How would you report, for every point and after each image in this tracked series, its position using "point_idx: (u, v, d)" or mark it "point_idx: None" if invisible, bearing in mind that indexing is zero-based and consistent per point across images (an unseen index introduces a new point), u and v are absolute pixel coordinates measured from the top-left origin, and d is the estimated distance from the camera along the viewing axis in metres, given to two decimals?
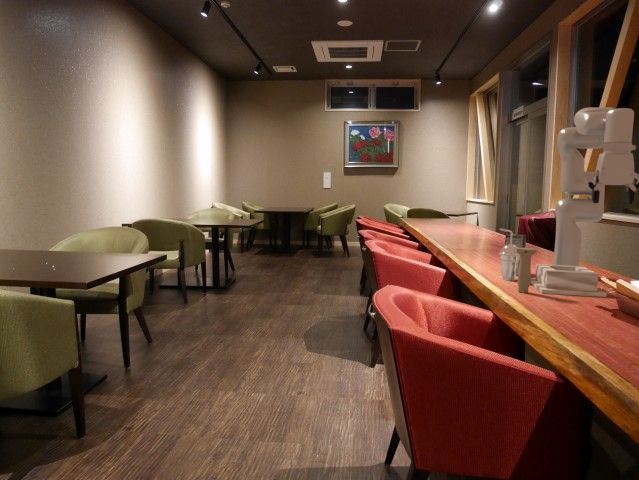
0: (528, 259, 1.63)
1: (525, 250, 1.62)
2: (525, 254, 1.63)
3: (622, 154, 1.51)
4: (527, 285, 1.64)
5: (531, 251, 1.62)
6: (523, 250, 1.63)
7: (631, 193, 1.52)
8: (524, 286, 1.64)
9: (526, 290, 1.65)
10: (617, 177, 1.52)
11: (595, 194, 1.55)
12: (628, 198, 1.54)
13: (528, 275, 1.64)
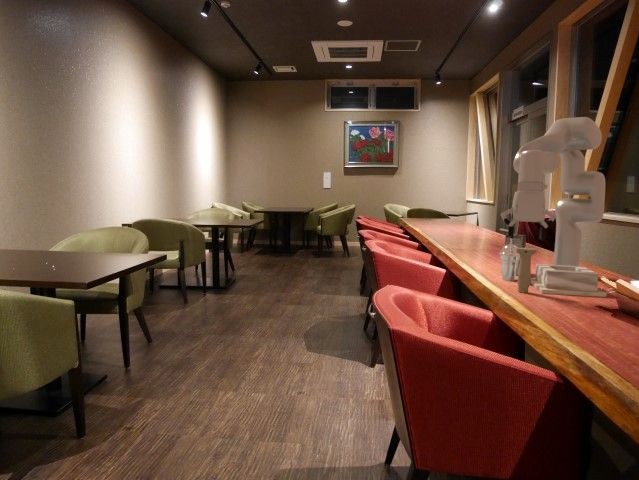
0: (528, 259, 1.63)
1: (525, 250, 1.62)
2: (525, 254, 1.63)
3: (534, 193, 1.60)
4: (527, 285, 1.64)
5: (531, 251, 1.62)
6: (523, 250, 1.63)
7: (543, 230, 1.61)
8: (524, 286, 1.64)
9: (526, 290, 1.65)
10: (529, 214, 1.61)
11: (510, 230, 1.64)
12: (541, 234, 1.62)
13: (528, 275, 1.64)
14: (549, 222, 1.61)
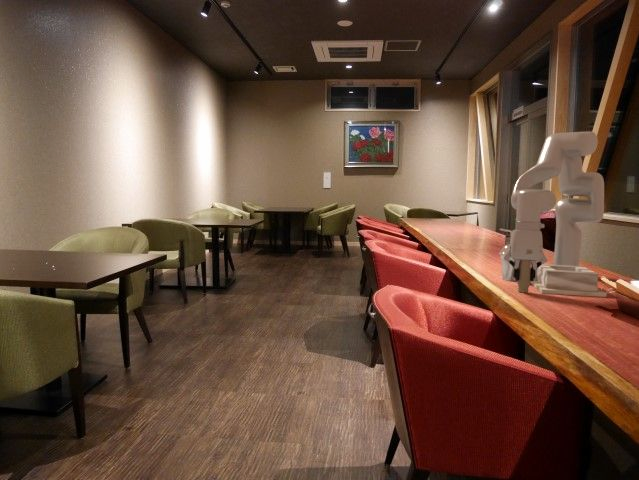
0: None
1: None
2: None
3: (531, 232, 1.61)
4: (527, 285, 1.64)
5: (531, 251, 1.62)
6: None
7: (532, 271, 1.63)
8: (524, 286, 1.64)
9: (526, 290, 1.65)
10: None
11: (515, 272, 1.65)
12: None
13: (528, 275, 1.64)
14: (538, 264, 1.63)
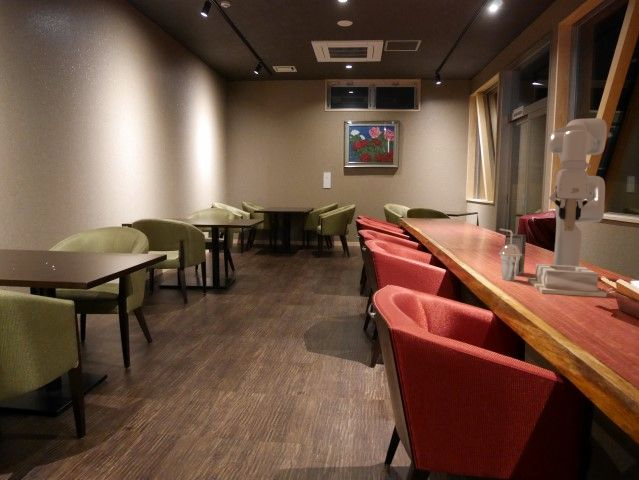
0: None
1: None
2: None
3: (577, 171, 1.66)
4: (573, 223, 1.69)
5: (577, 190, 1.67)
6: None
7: (578, 210, 1.69)
8: (570, 224, 1.70)
9: (572, 228, 1.70)
10: None
11: (561, 211, 1.70)
12: None
13: (574, 213, 1.69)
14: (584, 202, 1.69)
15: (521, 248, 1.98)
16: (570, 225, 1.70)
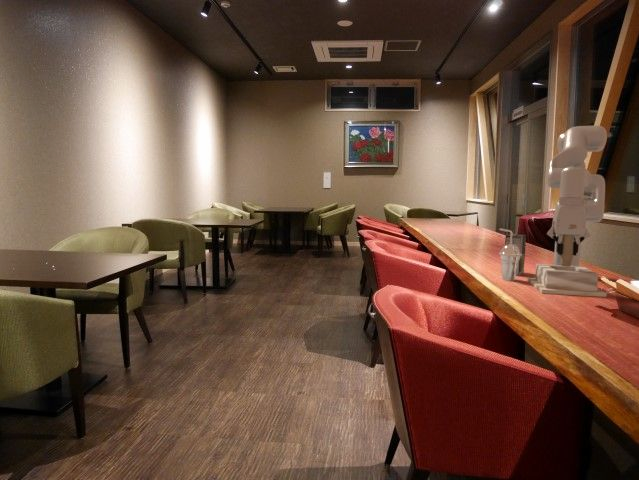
0: None
1: (569, 225, 1.69)
2: None
3: (575, 208, 1.68)
4: (570, 259, 1.71)
5: (575, 226, 1.68)
6: None
7: (575, 246, 1.70)
8: (567, 260, 1.71)
9: (569, 264, 1.71)
10: None
11: (559, 246, 1.72)
12: (573, 250, 1.71)
13: (571, 249, 1.70)
14: (581, 238, 1.70)
15: (521, 248, 1.98)
16: (568, 261, 1.71)
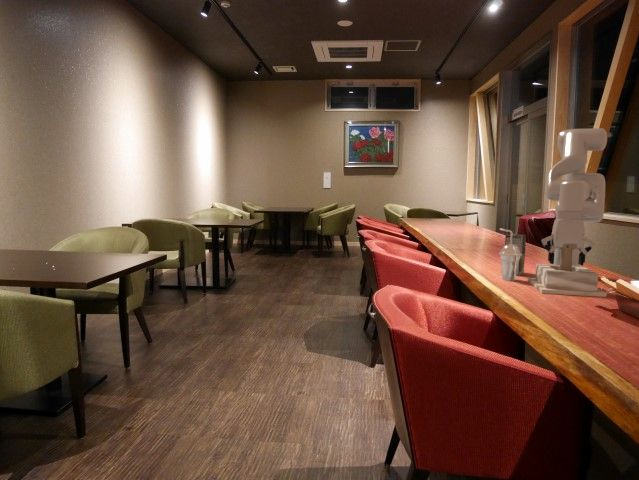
0: (570, 253, 1.71)
1: (567, 245, 1.70)
2: (567, 249, 1.70)
3: (574, 221, 1.68)
4: None
5: (573, 246, 1.69)
6: (565, 245, 1.70)
7: (582, 256, 1.70)
8: None
9: None
10: (570, 241, 1.70)
11: (550, 256, 1.73)
12: (580, 260, 1.71)
13: (570, 269, 1.71)
14: (588, 248, 1.70)
15: (521, 248, 1.98)
16: None
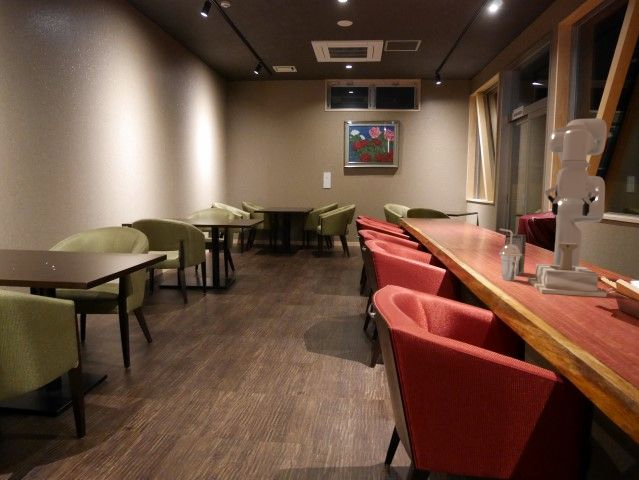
0: (570, 253, 1.71)
1: (567, 244, 1.70)
2: (567, 248, 1.71)
3: (578, 171, 1.66)
4: None
5: (573, 245, 1.70)
6: (565, 244, 1.70)
7: (586, 206, 1.68)
8: None
9: None
10: (573, 191, 1.68)
11: (554, 207, 1.71)
12: (584, 210, 1.69)
13: (570, 268, 1.71)
14: (592, 198, 1.68)
15: (521, 248, 1.98)
16: None
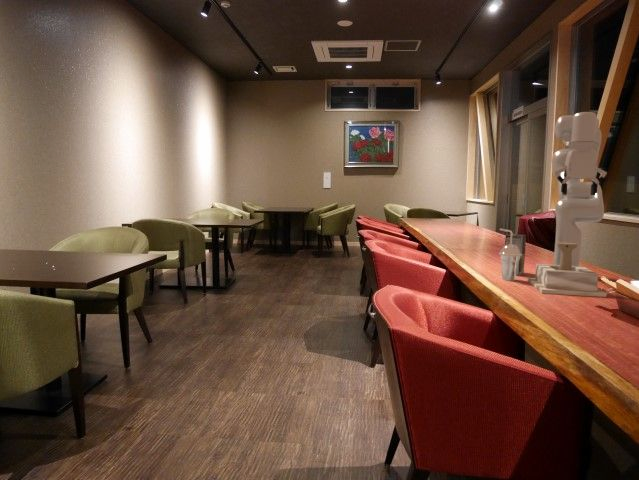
0: (569, 253, 1.71)
1: (566, 245, 1.70)
2: (566, 248, 1.70)
3: (586, 152, 1.73)
4: None
5: (572, 245, 1.70)
6: (564, 245, 1.70)
7: (594, 186, 1.75)
8: None
9: None
10: (582, 171, 1.75)
11: (563, 187, 1.78)
12: (592, 190, 1.76)
13: (569, 268, 1.71)
14: (600, 179, 1.75)
15: (521, 248, 1.98)
16: None
